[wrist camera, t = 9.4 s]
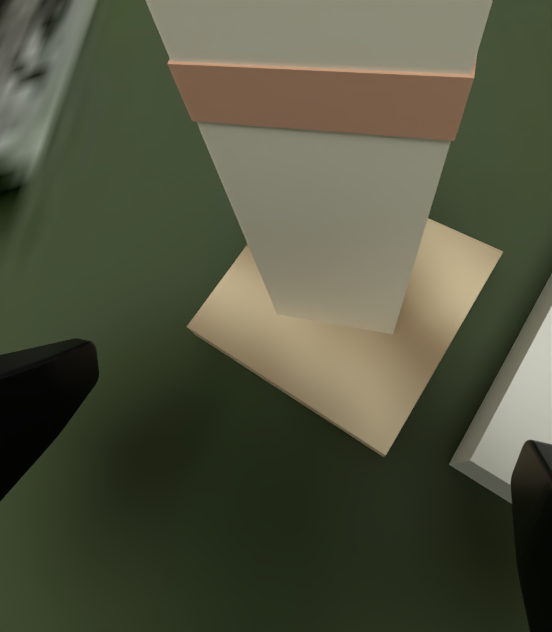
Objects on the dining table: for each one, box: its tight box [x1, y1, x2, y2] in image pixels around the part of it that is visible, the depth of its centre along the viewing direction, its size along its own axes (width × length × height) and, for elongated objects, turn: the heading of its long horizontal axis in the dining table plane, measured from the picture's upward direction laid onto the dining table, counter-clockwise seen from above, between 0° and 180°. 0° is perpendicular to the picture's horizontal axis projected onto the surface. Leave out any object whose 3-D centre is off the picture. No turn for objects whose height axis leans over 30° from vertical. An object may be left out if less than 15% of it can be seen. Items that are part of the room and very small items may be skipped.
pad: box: [187, 218, 503, 457], centre depth 18 cm, size 9×9×1 cm
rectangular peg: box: [146, 0, 493, 334], centre depth 12 cm, size 3×5×12 cm
